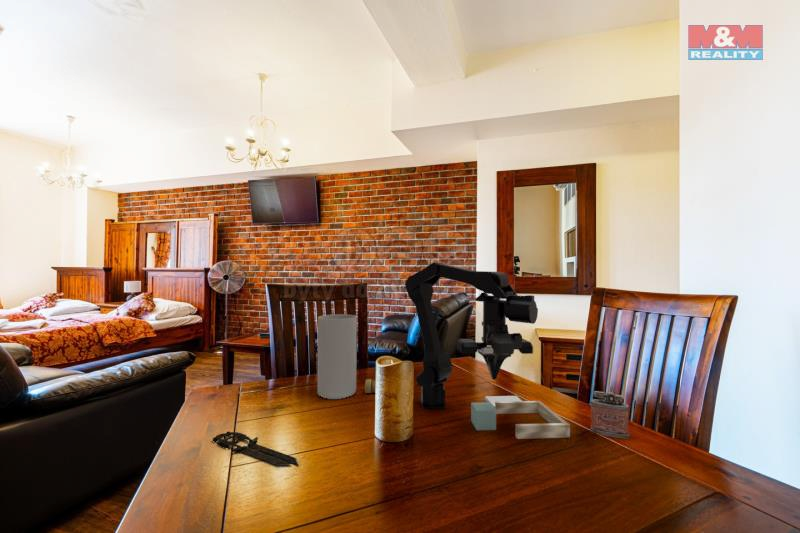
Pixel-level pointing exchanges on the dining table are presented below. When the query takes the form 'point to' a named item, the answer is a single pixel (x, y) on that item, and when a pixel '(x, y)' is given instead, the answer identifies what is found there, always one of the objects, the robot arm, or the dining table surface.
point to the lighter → (609, 415)
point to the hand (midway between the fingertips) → (493, 379)
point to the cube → (483, 416)
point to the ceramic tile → (501, 399)
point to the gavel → (369, 386)
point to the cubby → (527, 431)
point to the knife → (255, 446)
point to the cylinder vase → (337, 356)
